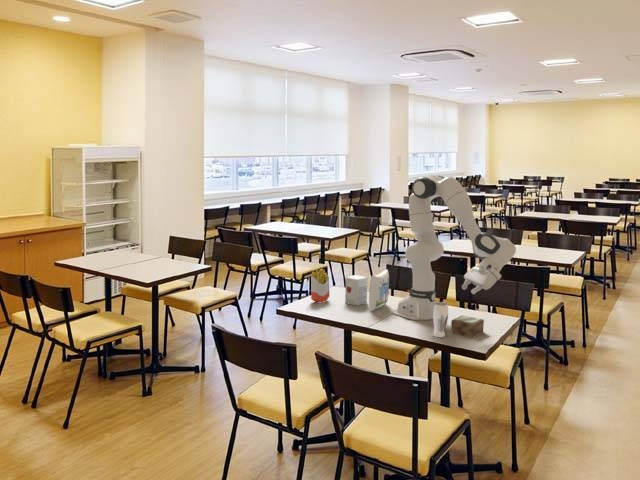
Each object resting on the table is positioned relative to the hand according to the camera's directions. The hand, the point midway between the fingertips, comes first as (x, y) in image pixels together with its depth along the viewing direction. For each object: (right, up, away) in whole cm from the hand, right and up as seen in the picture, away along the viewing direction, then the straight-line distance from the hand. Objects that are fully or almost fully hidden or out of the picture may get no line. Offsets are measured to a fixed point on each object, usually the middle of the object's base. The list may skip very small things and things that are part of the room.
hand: (467, 290), depth 263 cm
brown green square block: (+1, -20, +6) cm, 21 cm away
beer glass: (-13, -21, +1) cm, 24 cm away
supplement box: (-47, -12, +57) cm, 75 cm away
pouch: (-36, -14, +48) cm, 61 cm away
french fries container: (-67, -12, +60) cm, 91 cm away
